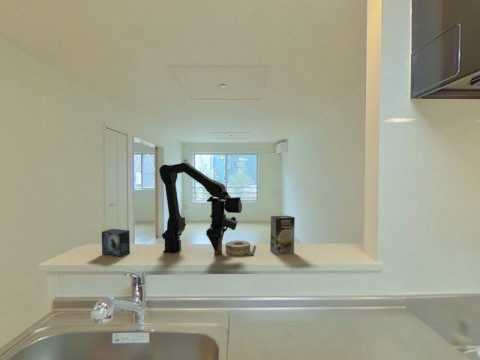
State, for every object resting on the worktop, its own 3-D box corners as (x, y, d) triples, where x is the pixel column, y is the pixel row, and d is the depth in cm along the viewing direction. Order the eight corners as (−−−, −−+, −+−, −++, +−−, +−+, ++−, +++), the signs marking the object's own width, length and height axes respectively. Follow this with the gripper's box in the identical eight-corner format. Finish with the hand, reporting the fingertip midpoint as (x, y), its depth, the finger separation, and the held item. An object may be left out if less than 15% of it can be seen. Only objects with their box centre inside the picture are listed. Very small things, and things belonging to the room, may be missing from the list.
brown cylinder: (213, 255, 122) (213, 232, 122) (215, 253, 126) (215, 230, 125) (221, 255, 122) (221, 232, 122) (222, 253, 125) (222, 230, 125)
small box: (100, 255, 124) (100, 231, 123) (112, 251, 130) (112, 228, 129) (119, 257, 120) (118, 233, 119) (130, 253, 126) (130, 230, 125)
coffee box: (276, 255, 123) (276, 218, 122) (269, 251, 129) (270, 216, 128) (294, 253, 126) (294, 217, 125) (287, 249, 132) (288, 215, 131)
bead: (224, 254, 124) (223, 246, 124) (228, 247, 135) (228, 240, 135) (248, 255, 123) (248, 247, 123) (251, 248, 134) (251, 240, 134)
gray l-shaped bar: (243, 255, 122) (243, 254, 122) (247, 246, 136) (247, 245, 136) (253, 255, 122) (253, 254, 122) (255, 246, 136) (255, 245, 136)
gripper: (232, 216, 113) (233, 254, 114) (239, 209, 132) (239, 242, 132) (205, 215, 114) (206, 253, 115) (215, 209, 133) (215, 241, 133)
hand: (218, 247), depth 124 cm, fingers open, 9 cm apart
